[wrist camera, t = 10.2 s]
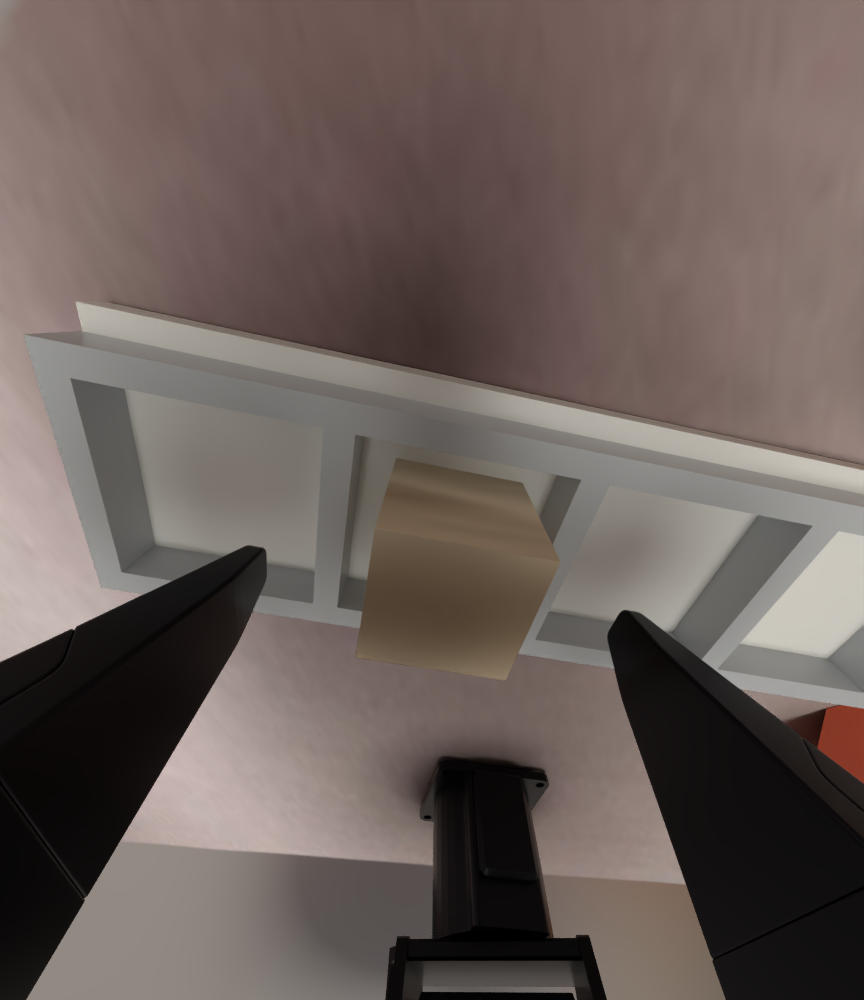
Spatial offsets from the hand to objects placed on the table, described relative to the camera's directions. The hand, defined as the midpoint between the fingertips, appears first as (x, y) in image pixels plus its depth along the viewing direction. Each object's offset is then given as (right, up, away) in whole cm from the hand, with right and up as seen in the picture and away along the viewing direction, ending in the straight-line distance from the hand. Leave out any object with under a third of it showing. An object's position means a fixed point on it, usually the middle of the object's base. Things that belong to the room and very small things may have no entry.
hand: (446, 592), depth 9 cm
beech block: (0, +1, +3) cm, 3 cm away
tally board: (+3, +1, +4) cm, 6 cm away
